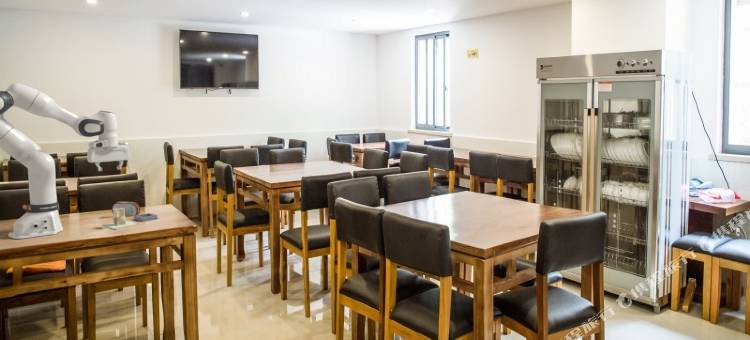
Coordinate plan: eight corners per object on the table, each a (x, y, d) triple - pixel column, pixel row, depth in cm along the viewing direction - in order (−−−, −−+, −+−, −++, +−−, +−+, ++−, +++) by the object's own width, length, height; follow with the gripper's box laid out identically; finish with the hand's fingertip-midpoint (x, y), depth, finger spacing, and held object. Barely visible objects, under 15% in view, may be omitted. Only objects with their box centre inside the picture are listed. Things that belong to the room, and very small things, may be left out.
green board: (113, 230, 268) (113, 228, 268) (102, 226, 276) (102, 224, 276) (137, 225, 277) (137, 223, 277) (126, 222, 285) (126, 220, 285)
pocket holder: (141, 224, 281) (141, 218, 280) (132, 221, 287) (131, 215, 287) (159, 220, 288) (159, 215, 288) (150, 218, 295) (150, 212, 294)
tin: (140, 216, 299) (139, 201, 298) (137, 218, 296) (136, 202, 294) (114, 216, 300) (113, 201, 299) (111, 217, 297) (110, 202, 296)
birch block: (117, 225, 274) (116, 209, 272) (114, 224, 276) (112, 208, 275) (125, 224, 277) (124, 208, 275) (122, 223, 279) (120, 207, 278)
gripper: (126, 141, 288) (127, 168, 289) (85, 143, 273) (86, 171, 274) (131, 142, 284) (132, 169, 285) (90, 144, 268) (91, 172, 270)
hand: (109, 170), depth 280 cm, fingers open, 8 cm apart
